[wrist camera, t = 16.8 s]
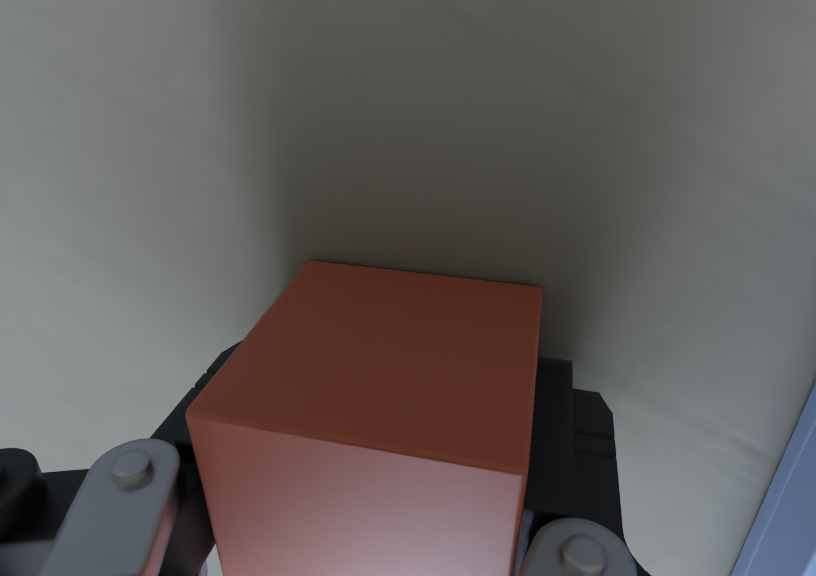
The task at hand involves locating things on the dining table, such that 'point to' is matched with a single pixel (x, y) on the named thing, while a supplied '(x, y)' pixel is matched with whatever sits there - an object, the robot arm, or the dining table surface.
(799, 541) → the blue tray
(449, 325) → the terracotta block
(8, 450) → the robot arm
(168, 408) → the dining table surface
